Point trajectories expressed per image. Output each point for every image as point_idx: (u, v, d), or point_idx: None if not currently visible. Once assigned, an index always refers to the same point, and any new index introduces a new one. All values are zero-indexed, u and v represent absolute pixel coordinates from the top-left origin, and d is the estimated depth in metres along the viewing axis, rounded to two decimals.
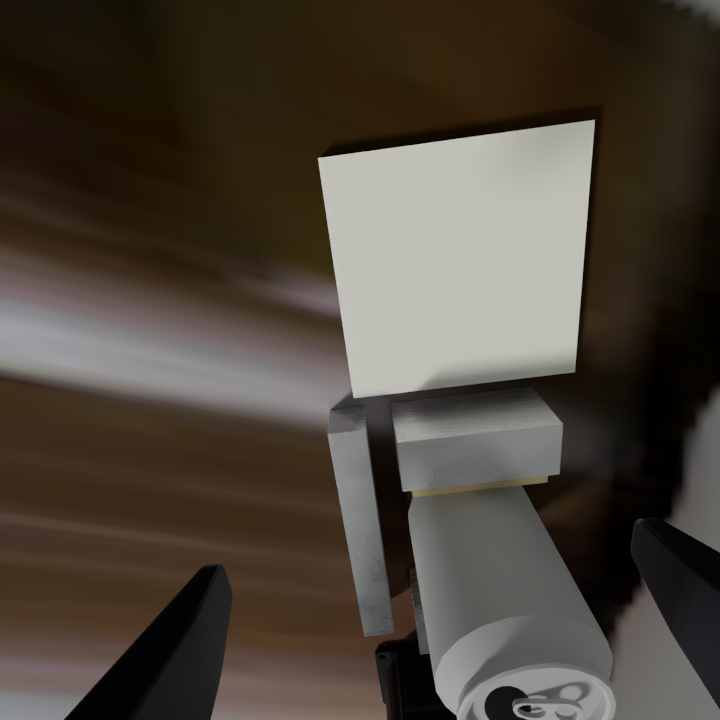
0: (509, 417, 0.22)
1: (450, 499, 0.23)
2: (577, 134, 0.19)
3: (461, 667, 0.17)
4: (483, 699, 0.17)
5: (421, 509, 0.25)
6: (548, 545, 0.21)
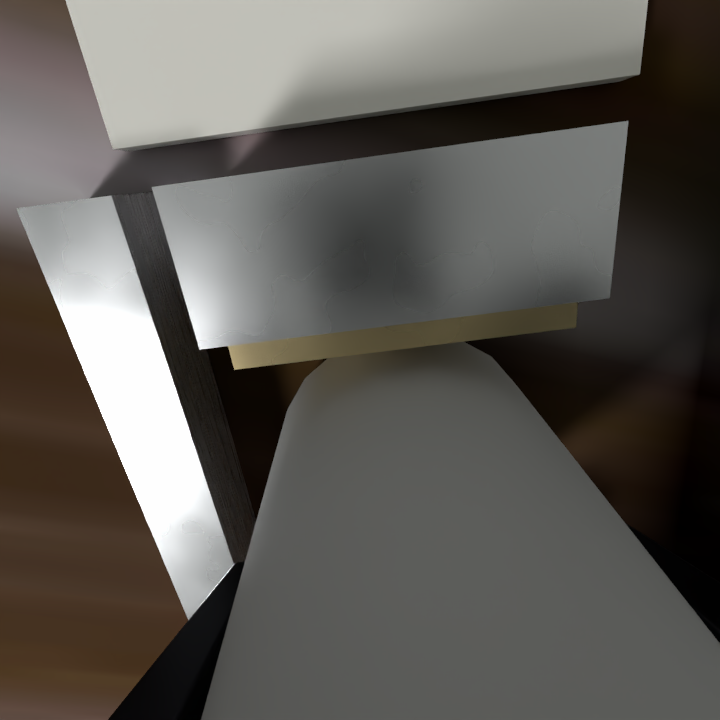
0: None
1: (341, 386, 0.10)
2: None
3: None
4: None
5: (288, 422, 0.11)
6: (585, 479, 0.07)
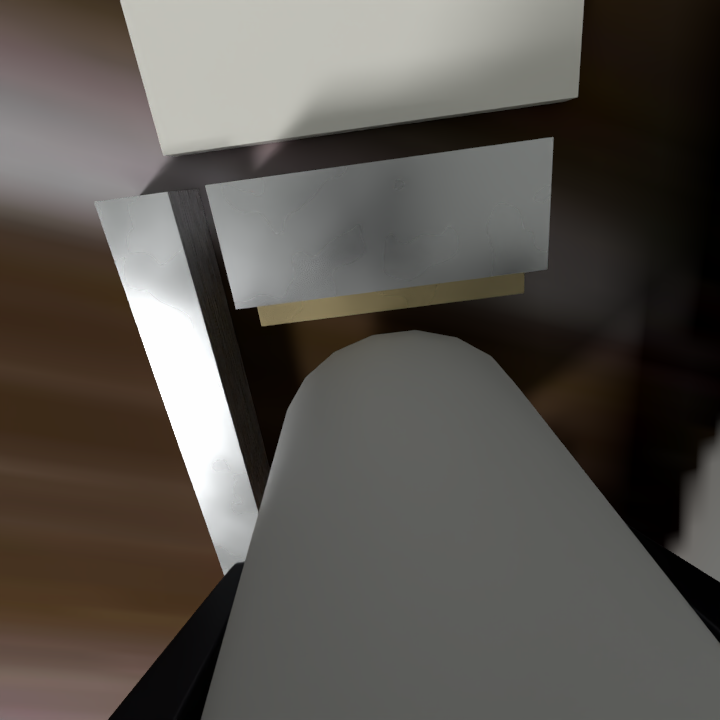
0: None
1: (341, 386, 0.10)
2: None
3: None
4: None
5: (288, 421, 0.11)
6: (584, 478, 0.07)
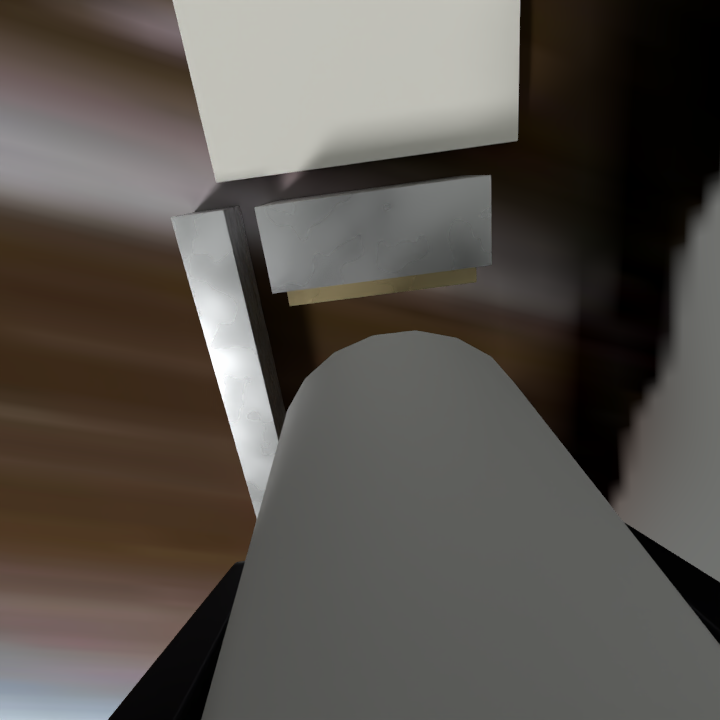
0: (420, 183, 0.15)
1: (341, 386, 0.10)
2: None
3: None
4: None
5: (288, 422, 0.11)
6: (584, 479, 0.07)
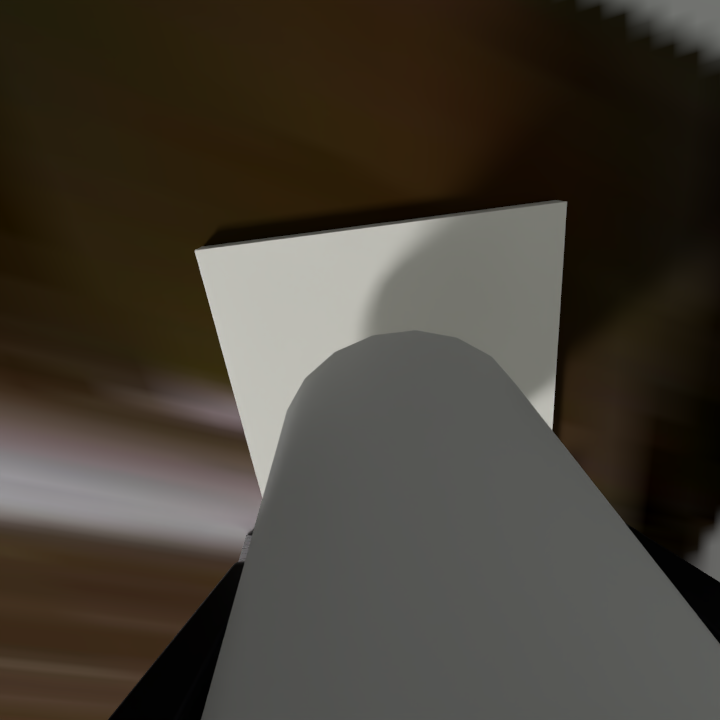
0: None
1: (341, 386, 0.10)
2: (543, 220, 0.14)
3: None
4: None
5: (288, 422, 0.11)
6: (585, 479, 0.07)
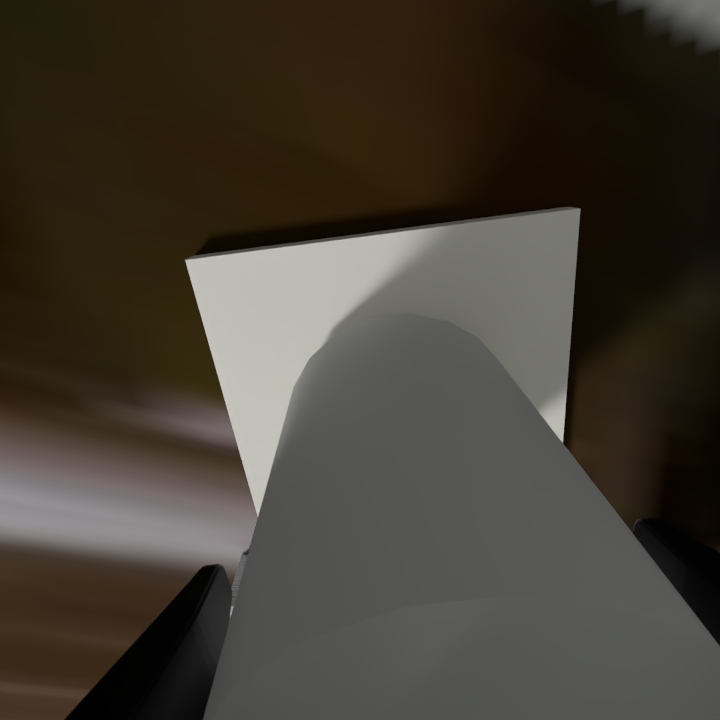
0: None
1: (342, 361, 0.11)
2: (555, 228, 0.13)
3: None
4: None
5: (295, 395, 0.12)
6: (550, 433, 0.08)
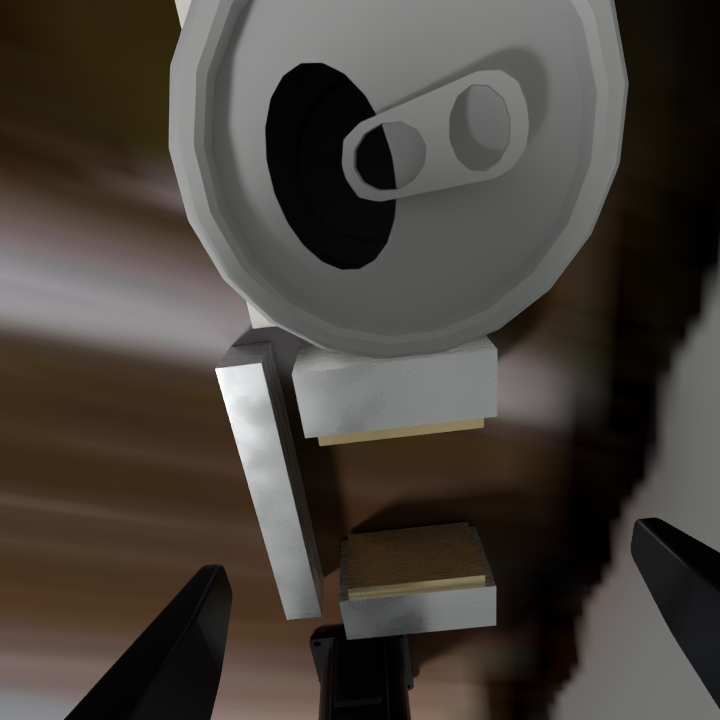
0: None
1: None
2: None
3: None
4: (258, 130, 0.06)
5: None
6: None
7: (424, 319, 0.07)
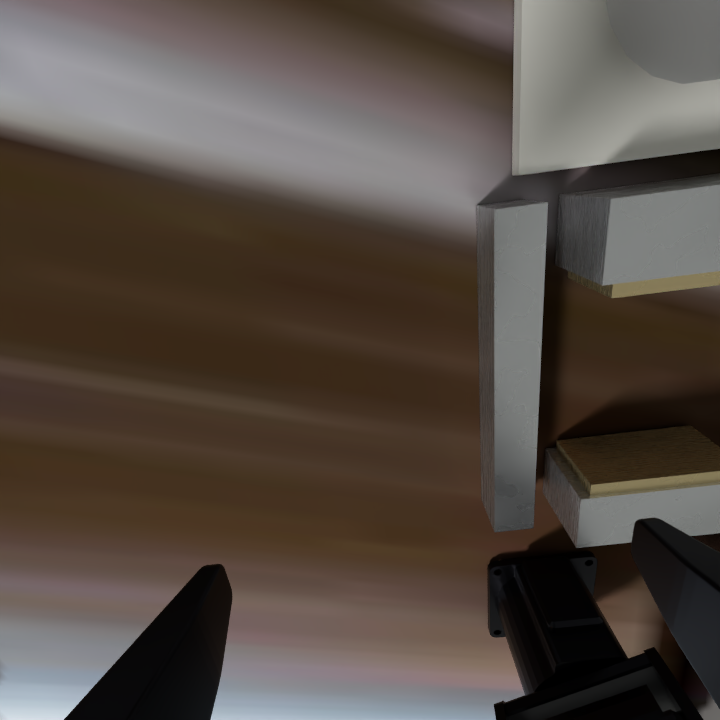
0: None
1: None
2: None
3: None
4: None
5: None
6: None
7: None
